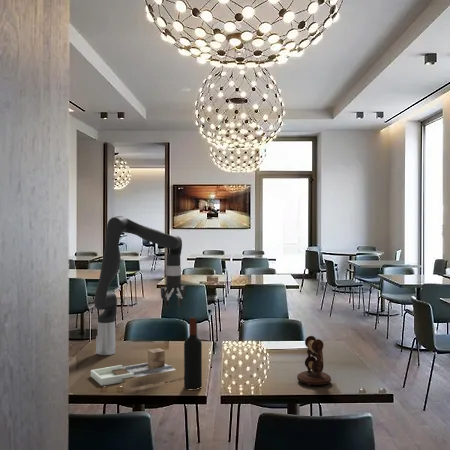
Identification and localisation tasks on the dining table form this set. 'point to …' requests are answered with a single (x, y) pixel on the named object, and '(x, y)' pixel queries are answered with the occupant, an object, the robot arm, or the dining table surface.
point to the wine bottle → (192, 359)
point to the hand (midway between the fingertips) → (173, 306)
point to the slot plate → (147, 369)
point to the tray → (109, 375)
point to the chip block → (156, 358)
